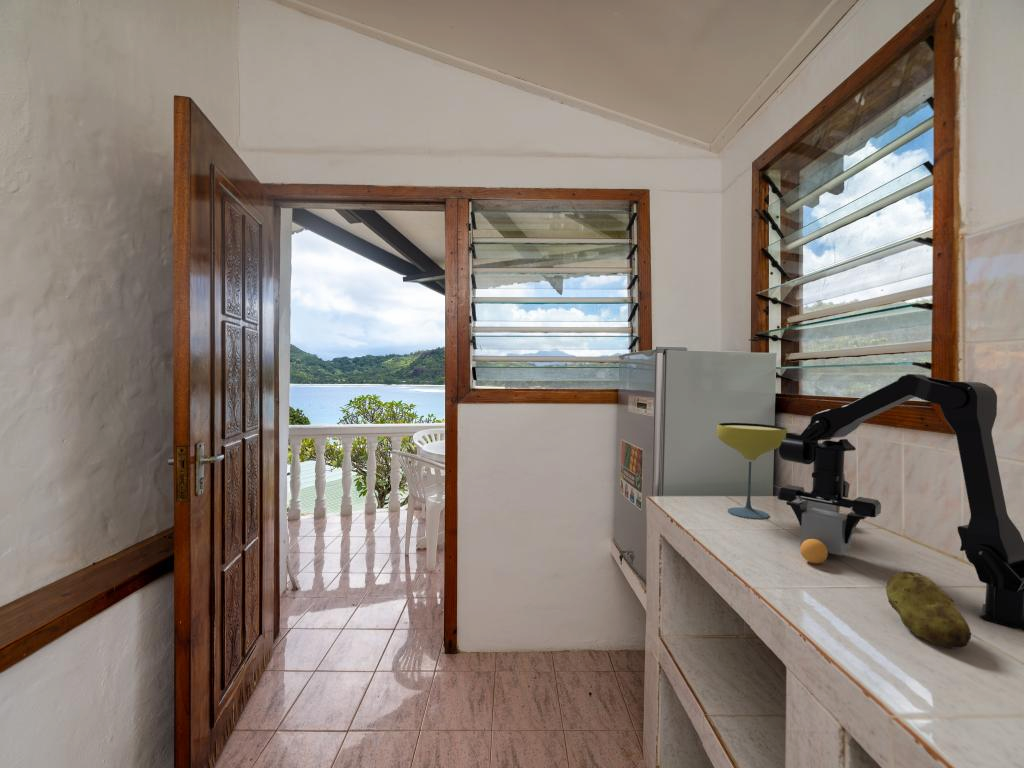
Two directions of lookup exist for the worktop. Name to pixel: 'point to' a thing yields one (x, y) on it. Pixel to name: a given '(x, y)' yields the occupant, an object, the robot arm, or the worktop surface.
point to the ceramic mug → (823, 506)
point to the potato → (927, 610)
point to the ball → (814, 551)
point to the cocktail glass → (750, 452)
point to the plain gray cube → (825, 529)
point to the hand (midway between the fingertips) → (825, 538)
